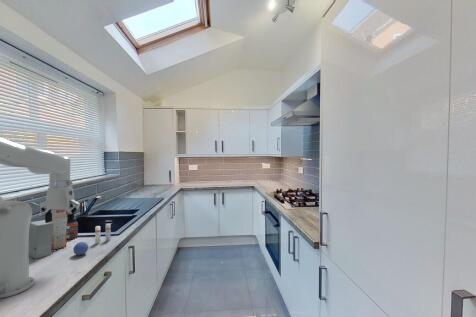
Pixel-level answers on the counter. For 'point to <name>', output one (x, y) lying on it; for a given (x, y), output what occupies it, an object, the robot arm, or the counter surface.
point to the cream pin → (97, 234)
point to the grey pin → (108, 232)
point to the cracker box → (59, 228)
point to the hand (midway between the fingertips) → (59, 222)
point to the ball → (80, 248)
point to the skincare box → (40, 239)
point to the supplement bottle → (72, 230)
